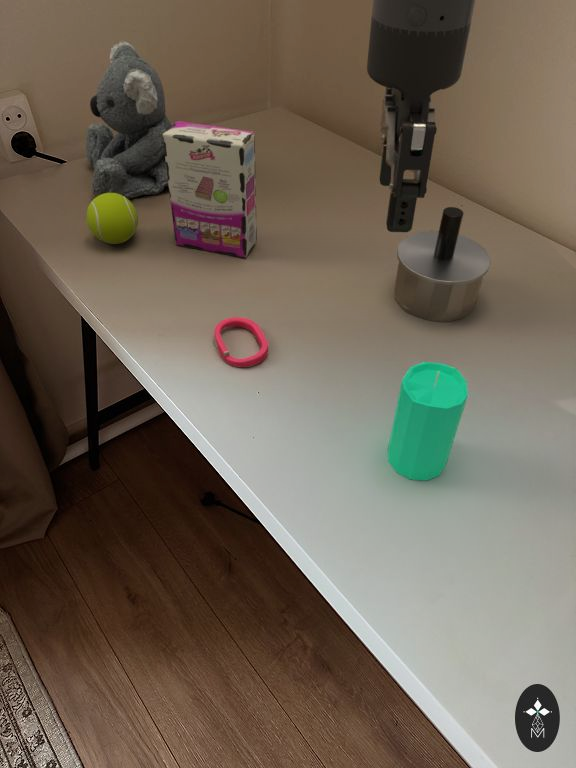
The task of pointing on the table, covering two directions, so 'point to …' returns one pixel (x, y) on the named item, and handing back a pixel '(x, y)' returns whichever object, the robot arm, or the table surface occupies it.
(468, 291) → the tin
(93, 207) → the tennis ball
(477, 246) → the tin lid
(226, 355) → the fitness band
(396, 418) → the candle
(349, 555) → the table surface
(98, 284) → the table surface
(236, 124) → the table surface
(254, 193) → the candy bar box
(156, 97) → the koala plush
